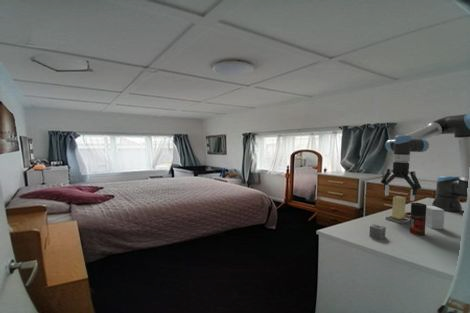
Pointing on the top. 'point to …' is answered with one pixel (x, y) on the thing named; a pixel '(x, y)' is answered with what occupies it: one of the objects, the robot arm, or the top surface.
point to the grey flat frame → (407, 214)
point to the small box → (434, 217)
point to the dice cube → (377, 231)
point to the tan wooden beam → (398, 208)
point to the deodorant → (418, 219)
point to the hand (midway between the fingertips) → (398, 197)
